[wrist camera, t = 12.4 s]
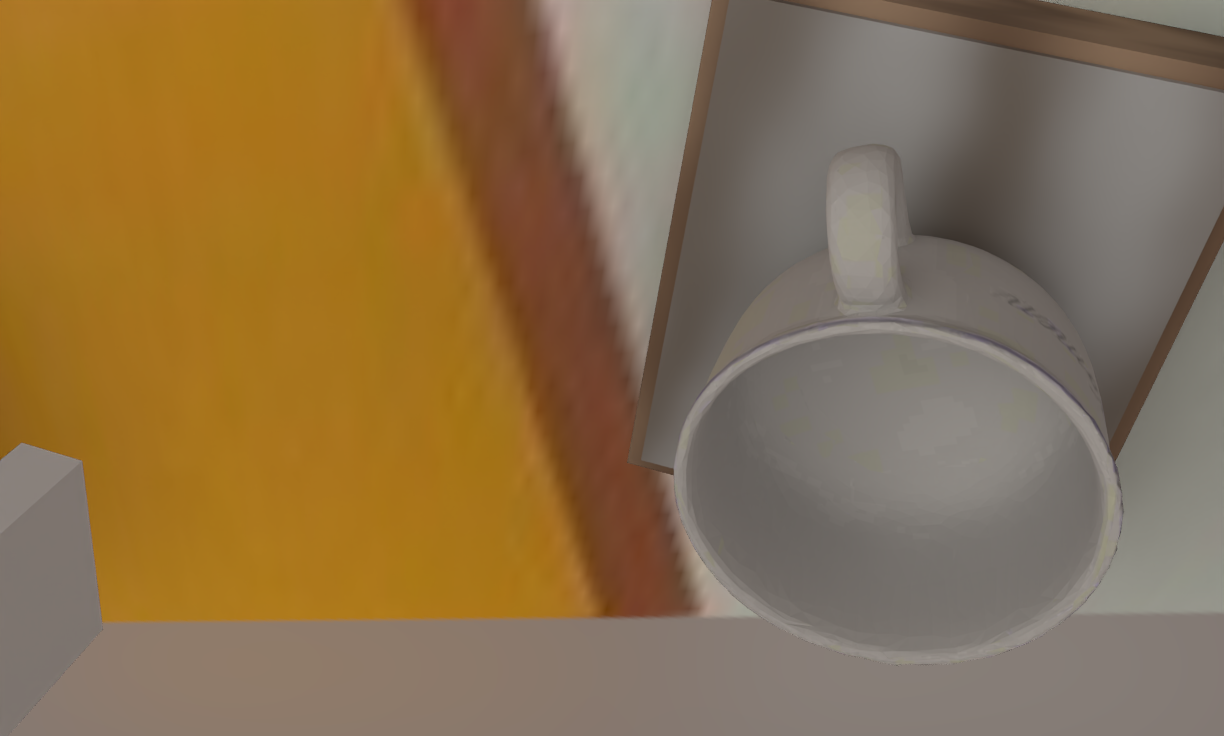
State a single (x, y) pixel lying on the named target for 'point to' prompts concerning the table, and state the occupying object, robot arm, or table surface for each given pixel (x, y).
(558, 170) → the table surface
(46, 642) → the robot arm
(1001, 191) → the walnut riser
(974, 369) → the teacup
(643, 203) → the table surface
